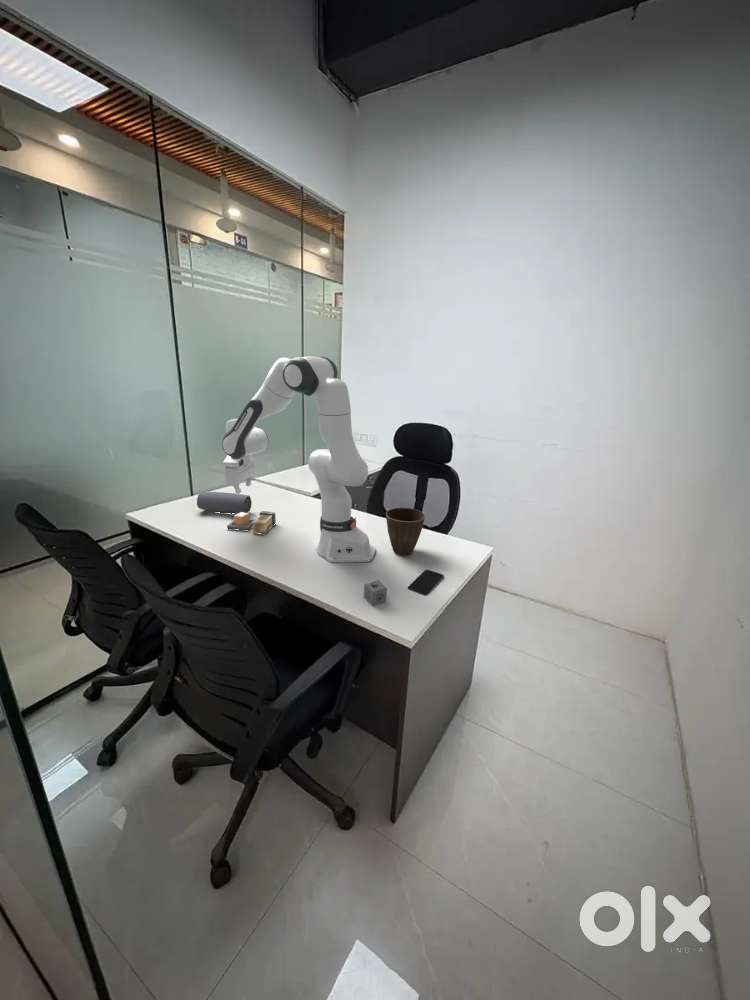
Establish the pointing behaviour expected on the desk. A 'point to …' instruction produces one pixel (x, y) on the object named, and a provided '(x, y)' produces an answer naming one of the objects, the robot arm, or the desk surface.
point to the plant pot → (404, 529)
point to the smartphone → (425, 582)
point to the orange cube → (241, 519)
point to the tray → (232, 526)
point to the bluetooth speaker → (224, 502)
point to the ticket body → (264, 522)
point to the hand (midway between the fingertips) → (243, 489)
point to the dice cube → (375, 592)
